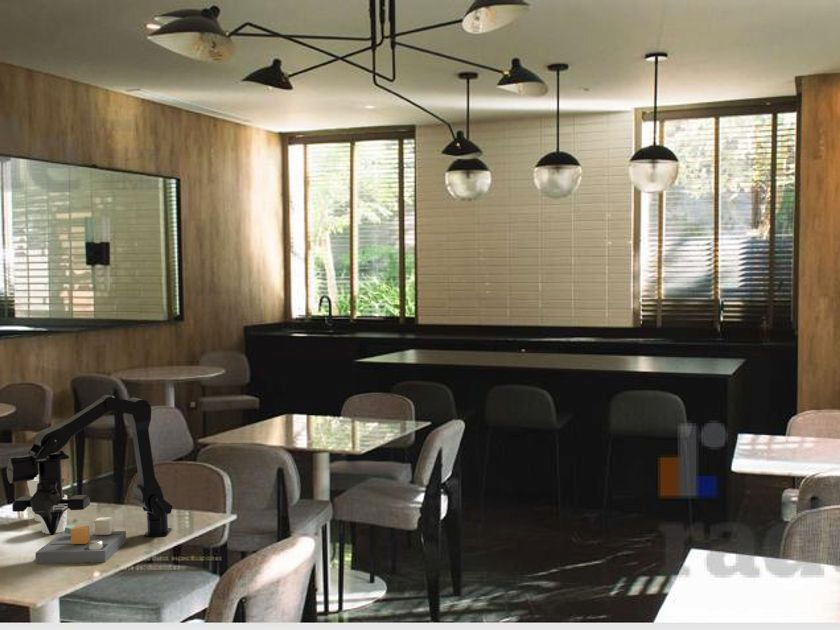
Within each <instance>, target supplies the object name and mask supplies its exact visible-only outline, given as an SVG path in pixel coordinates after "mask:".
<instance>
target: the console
mask: <svg viewBox="0 0 840 630" xmlns="http://www.w3.org/2000/svg"><path fill="white" fill-rule="evenodd" d="M94 540H102V541H103V550H89V542H90V541H94ZM90 541H89V542H87V543H86V544H71V534H68V533H64V532H60V533H58V535H56V536H55V537H54V538H52V539H51V540H50V541H49V542H48V543H46V544H45V545H44V546H42V547H41V548H39V550H37V551H36V552H35V564H36V565H46V564H48V565H49V564H50V565H52V564H53V565H55V564H83V563H85V564H87V563H86V562H90V563H106V562H107V561H108V560H109V559H110V558H111V557H112V556H113V555H114V554H115V553H117V551H119V549H120V548H121V547H122V546H123V545H124V544H126V543H127V531H126V530H113V532H112V533H111V534H110V535H95V531H90ZM121 545H122V546H121ZM120 546H121V547H120ZM119 547H120V548H119ZM118 548H119V549H118ZM116 550H117V551H116ZM113 553H114V554H113Z"/></svg>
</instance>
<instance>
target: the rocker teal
mask: <svg viewBox="0 0 840 630" xmlns="http://www.w3.org/2000/svg"><path fill="white" fill-rule="evenodd" d="M74 526H76V525H73V524H67V527H65V531H63V533H68V534H71V531H70V529H71V528H73V527H74ZM89 528H90V530H91V527H89Z"/></svg>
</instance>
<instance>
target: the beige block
mask: <svg viewBox="0 0 840 630" xmlns="http://www.w3.org/2000/svg"><path fill="white" fill-rule="evenodd" d="M113 531H114V517H112V516H110V517H109V516H108V517H107V516H106V517H103V516H102V517H97V518H96V519H95V520H94V532H95V535H110V534H111V533H112V532H113Z"/></svg>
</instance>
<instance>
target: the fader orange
mask: <svg viewBox="0 0 840 630" xmlns="http://www.w3.org/2000/svg"><path fill="white" fill-rule="evenodd" d="M90 528H91V527H90V525H75V526H74V527H73V528H71V529H70V531H71V544H86V543H87V542H89V541H90V532H91V529H90Z"/></svg>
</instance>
